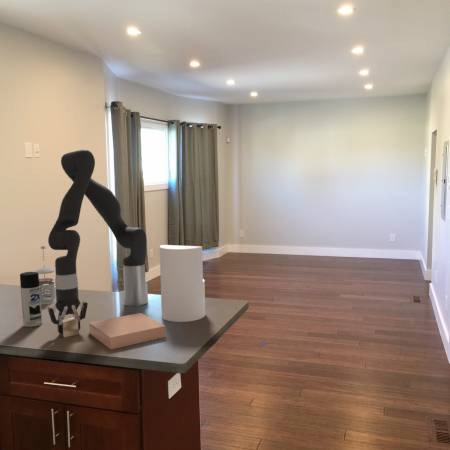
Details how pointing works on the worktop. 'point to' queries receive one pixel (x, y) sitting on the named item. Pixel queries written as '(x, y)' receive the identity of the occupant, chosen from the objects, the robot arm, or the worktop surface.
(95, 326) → the terracotta platform
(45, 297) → the french press
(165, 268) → the cylinder
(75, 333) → the maple block
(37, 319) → the spray can
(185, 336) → the worktop surface
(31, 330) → the worktop surface
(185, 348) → the worktop surface
